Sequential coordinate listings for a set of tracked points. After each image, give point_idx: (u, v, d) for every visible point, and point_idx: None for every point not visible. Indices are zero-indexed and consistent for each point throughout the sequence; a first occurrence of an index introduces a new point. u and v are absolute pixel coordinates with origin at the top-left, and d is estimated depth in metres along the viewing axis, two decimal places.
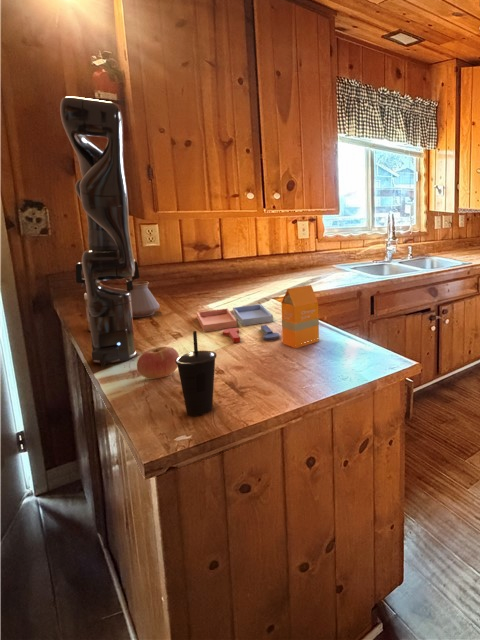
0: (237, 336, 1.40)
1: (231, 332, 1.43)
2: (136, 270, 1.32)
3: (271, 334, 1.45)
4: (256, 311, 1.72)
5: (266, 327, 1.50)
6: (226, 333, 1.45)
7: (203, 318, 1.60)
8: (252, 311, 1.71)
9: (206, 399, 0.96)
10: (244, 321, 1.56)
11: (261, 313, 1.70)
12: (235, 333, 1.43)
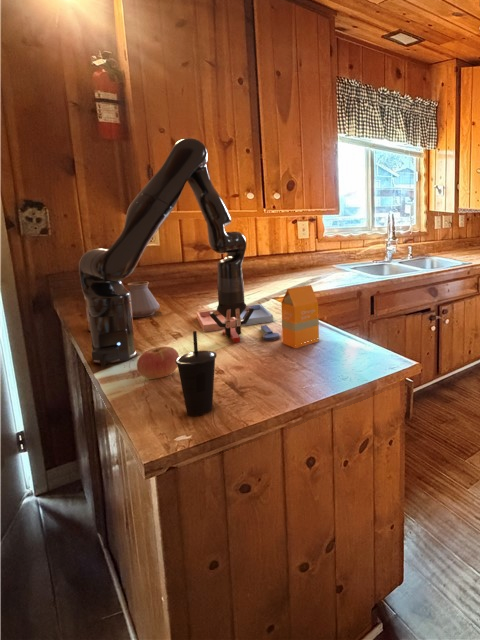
0: (237, 336, 1.40)
1: (231, 332, 1.43)
2: (248, 316, 1.45)
3: (271, 334, 1.45)
4: (256, 311, 1.72)
5: (266, 327, 1.50)
6: None
7: (203, 318, 1.60)
8: None
9: (206, 399, 0.96)
10: None
11: (261, 313, 1.70)
12: (235, 333, 1.43)
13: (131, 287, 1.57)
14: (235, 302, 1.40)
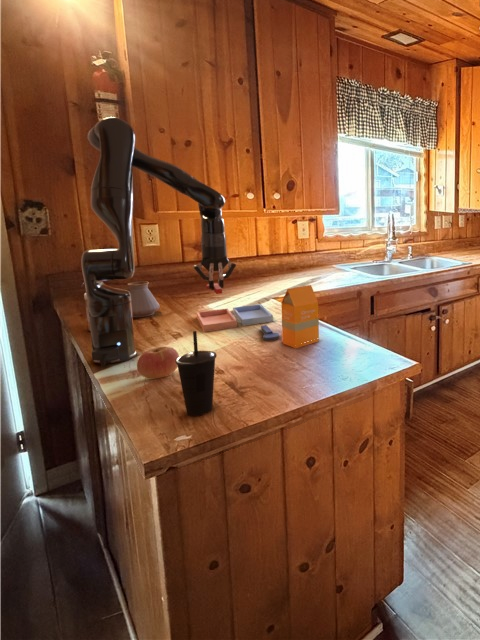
0: (219, 288, 1.50)
1: (214, 285, 1.54)
2: (230, 271, 1.55)
3: (271, 334, 1.45)
4: (256, 311, 1.72)
5: (266, 327, 1.50)
6: None
7: (203, 318, 1.60)
8: (252, 311, 1.71)
9: (206, 399, 0.96)
10: (244, 321, 1.56)
11: (261, 313, 1.70)
12: (218, 286, 1.53)
13: (131, 287, 1.57)
14: (217, 256, 1.50)
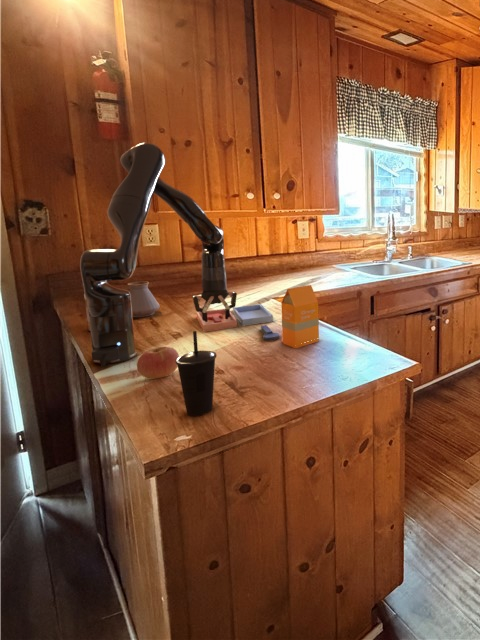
0: (219, 320, 1.54)
1: (214, 316, 1.57)
2: (234, 300, 1.60)
3: (271, 334, 1.45)
4: (256, 311, 1.72)
5: (266, 327, 1.50)
6: (209, 317, 1.58)
7: None
8: (252, 311, 1.71)
9: (206, 399, 0.96)
10: (244, 321, 1.56)
11: (261, 313, 1.70)
12: (218, 317, 1.56)
13: (131, 287, 1.57)
14: (218, 289, 1.53)
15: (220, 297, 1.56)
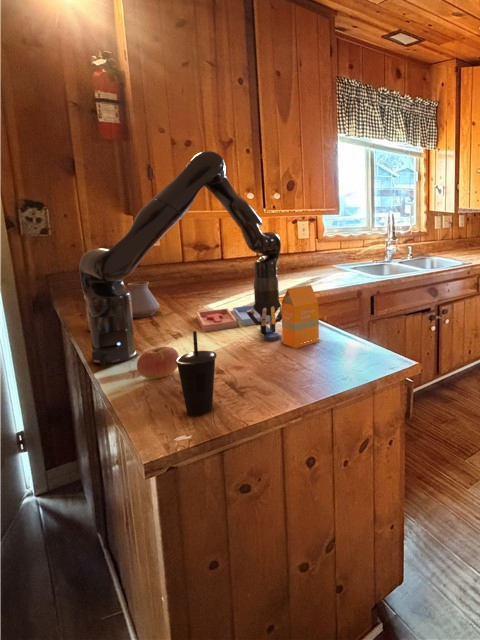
0: (219, 320, 1.54)
1: (214, 316, 1.57)
2: None
3: (271, 334, 1.45)
4: None
5: (266, 327, 1.50)
6: (209, 317, 1.58)
7: (203, 318, 1.60)
8: None
9: (206, 399, 0.96)
10: (244, 321, 1.56)
11: None
12: (218, 317, 1.56)
13: (131, 287, 1.57)
14: (271, 301, 1.44)
15: (273, 309, 1.46)
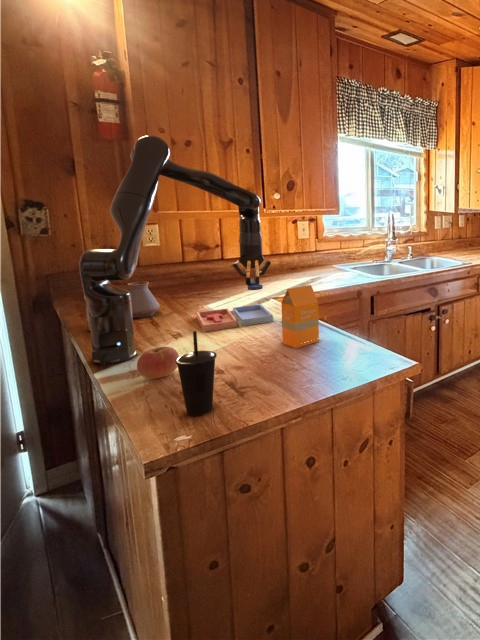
0: (219, 320, 1.54)
1: (214, 316, 1.57)
2: (265, 268, 1.63)
3: (255, 285, 1.59)
4: (256, 311, 1.72)
5: (251, 280, 1.64)
6: (209, 317, 1.58)
7: (203, 318, 1.60)
8: (252, 311, 1.71)
9: (206, 399, 0.96)
10: (244, 321, 1.56)
11: (261, 313, 1.70)
12: (218, 317, 1.56)
13: (131, 287, 1.57)
14: (255, 254, 1.58)
15: (256, 262, 1.60)
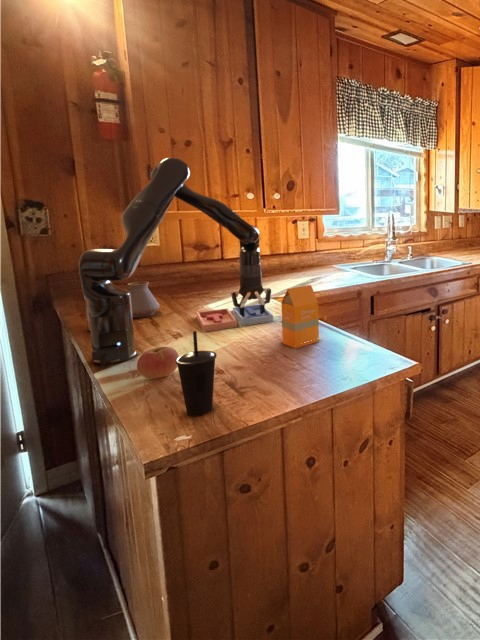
0: (219, 320, 1.54)
1: (214, 316, 1.57)
2: (269, 296, 1.68)
3: (254, 315, 1.63)
4: (256, 311, 1.72)
5: (250, 309, 1.68)
6: (209, 317, 1.58)
7: (203, 318, 1.60)
8: None
9: (206, 399, 0.96)
10: (244, 321, 1.56)
11: None
12: (218, 317, 1.56)
13: (131, 287, 1.57)
14: (254, 286, 1.62)
15: (256, 293, 1.64)
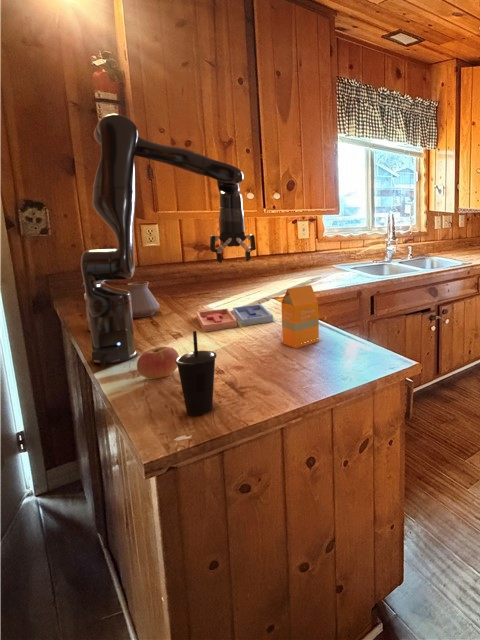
0: (219, 320, 1.54)
1: (214, 316, 1.57)
2: (253, 243, 1.58)
3: (254, 315, 1.63)
4: (256, 311, 1.72)
5: (250, 309, 1.68)
6: (209, 317, 1.58)
7: (203, 318, 1.60)
8: None
9: (206, 399, 0.96)
10: (244, 321, 1.56)
11: (261, 313, 1.70)
12: (218, 317, 1.56)
13: (131, 287, 1.57)
14: (236, 231, 1.51)
15: (238, 240, 1.53)
